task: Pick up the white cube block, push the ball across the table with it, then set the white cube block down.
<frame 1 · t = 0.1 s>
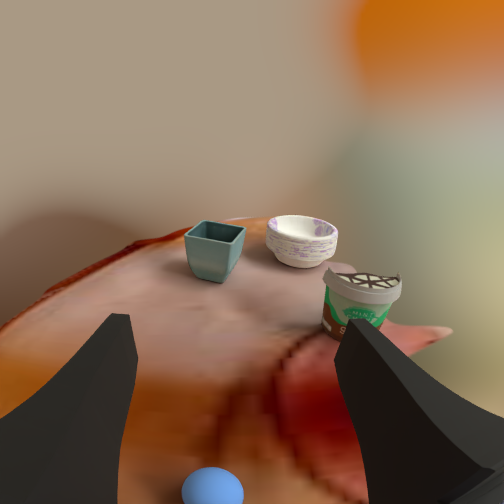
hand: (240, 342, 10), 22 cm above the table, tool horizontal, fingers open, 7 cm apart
ball: (212, 494, 19), on the table
food container: (353, 338, 45), on the table
flower pot: (214, 276, 58), on the table
paper bowls: (297, 259, 69), on the table
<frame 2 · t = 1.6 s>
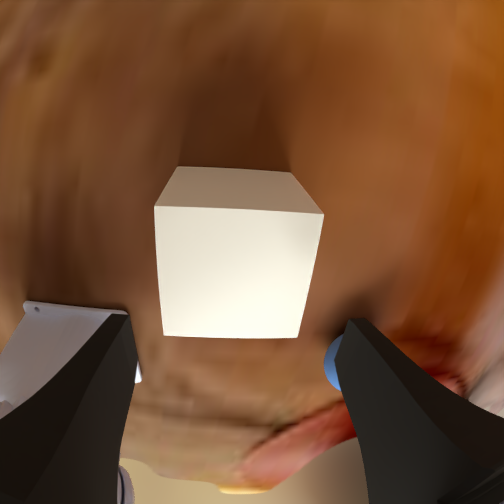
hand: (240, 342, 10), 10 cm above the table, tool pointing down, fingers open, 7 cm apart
ball: (355, 362, 22), on the table
white cube block: (230, 221, 19), on the table
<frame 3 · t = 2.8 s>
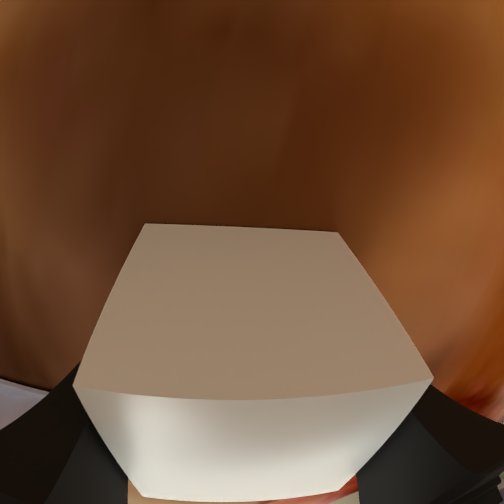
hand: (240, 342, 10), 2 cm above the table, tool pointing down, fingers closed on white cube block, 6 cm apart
white cube block: (237, 306, 12), on the table, touching gripper
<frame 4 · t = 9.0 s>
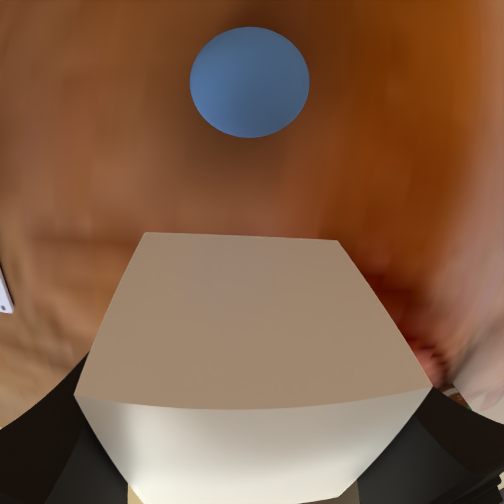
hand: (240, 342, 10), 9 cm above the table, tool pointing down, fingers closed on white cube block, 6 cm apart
ball: (249, 81, 12), on the table
white cube block: (236, 314, 12), point 7 cm above the table, touching gripper
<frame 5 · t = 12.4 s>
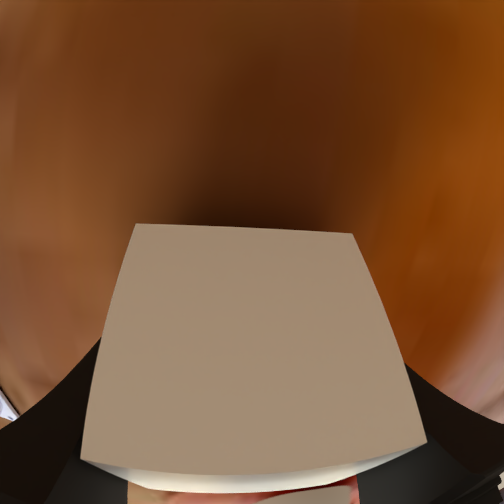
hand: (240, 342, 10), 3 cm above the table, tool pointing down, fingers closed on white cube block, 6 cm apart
white cube block: (238, 299, 11), point 2 cm above the table, tilted 14°, touching gripper
when the fingers open (3 cm above the table, at t = 13.1 s): white cube block drops 1 cm, on the table.
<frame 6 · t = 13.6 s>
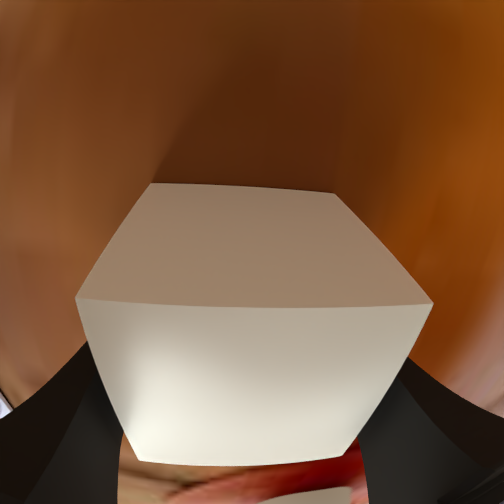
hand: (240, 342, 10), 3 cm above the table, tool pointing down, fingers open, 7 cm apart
white cube block: (237, 268, 12), on the table
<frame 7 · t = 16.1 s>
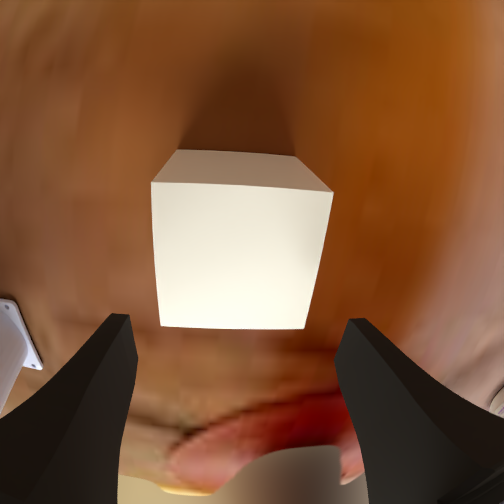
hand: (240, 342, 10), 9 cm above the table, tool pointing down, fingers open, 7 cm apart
white cube block: (232, 207, 18), on the table
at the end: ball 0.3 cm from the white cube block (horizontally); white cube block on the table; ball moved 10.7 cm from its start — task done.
